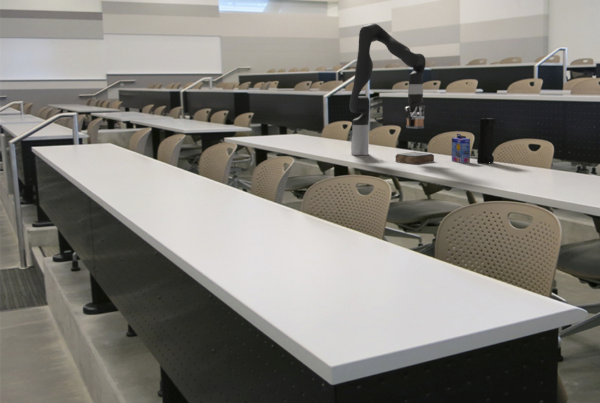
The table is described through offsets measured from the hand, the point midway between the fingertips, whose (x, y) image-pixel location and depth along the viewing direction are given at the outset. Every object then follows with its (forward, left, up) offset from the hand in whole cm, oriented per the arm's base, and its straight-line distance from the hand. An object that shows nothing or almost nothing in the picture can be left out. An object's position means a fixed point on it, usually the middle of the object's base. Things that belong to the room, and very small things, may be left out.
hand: (415, 126), depth 333 cm
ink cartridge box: (+17, +16, -19) cm, 30 cm away
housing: (0, 0, -1) cm, 1 cm away
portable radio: (+29, +21, -19) cm, 41 cm away
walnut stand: (0, 0, -18) cm, 18 cm away
